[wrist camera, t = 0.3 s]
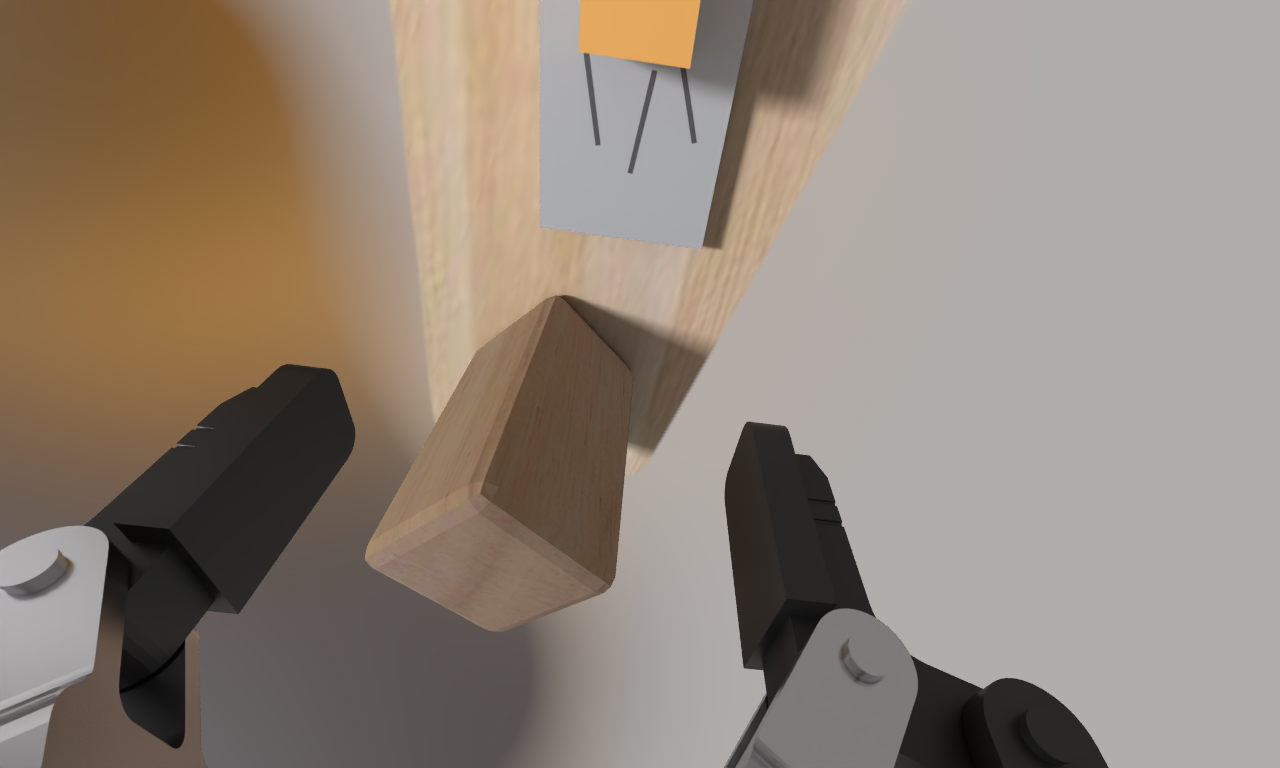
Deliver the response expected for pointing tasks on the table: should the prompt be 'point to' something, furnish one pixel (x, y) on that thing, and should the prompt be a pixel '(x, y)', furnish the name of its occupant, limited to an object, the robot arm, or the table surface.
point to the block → (517, 478)
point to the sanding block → (640, 30)
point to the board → (635, 129)
